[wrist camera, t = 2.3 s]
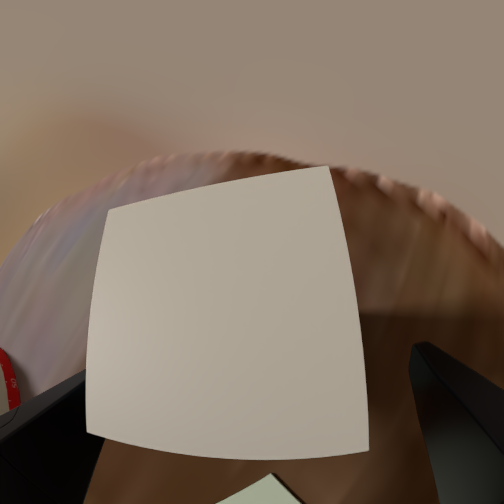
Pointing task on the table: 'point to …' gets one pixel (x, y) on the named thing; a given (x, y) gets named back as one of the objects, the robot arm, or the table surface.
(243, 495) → the plate
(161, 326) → the tea tin
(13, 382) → the kitchen timer
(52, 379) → the table surface
